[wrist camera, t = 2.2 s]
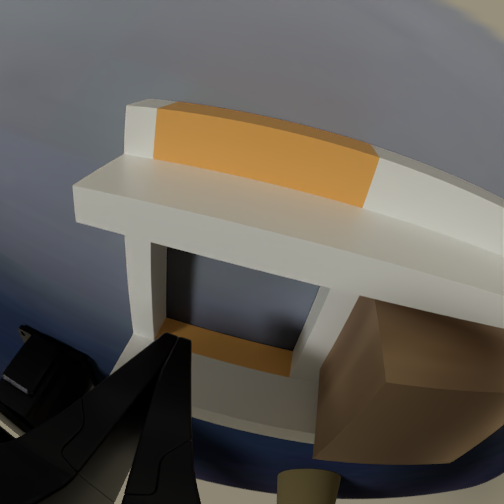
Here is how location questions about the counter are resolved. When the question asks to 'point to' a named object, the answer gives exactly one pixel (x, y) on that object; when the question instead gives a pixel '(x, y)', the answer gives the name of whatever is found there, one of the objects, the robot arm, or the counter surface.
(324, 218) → the white mounting bracket
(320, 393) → the walnut block
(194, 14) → the counter surface
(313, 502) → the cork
